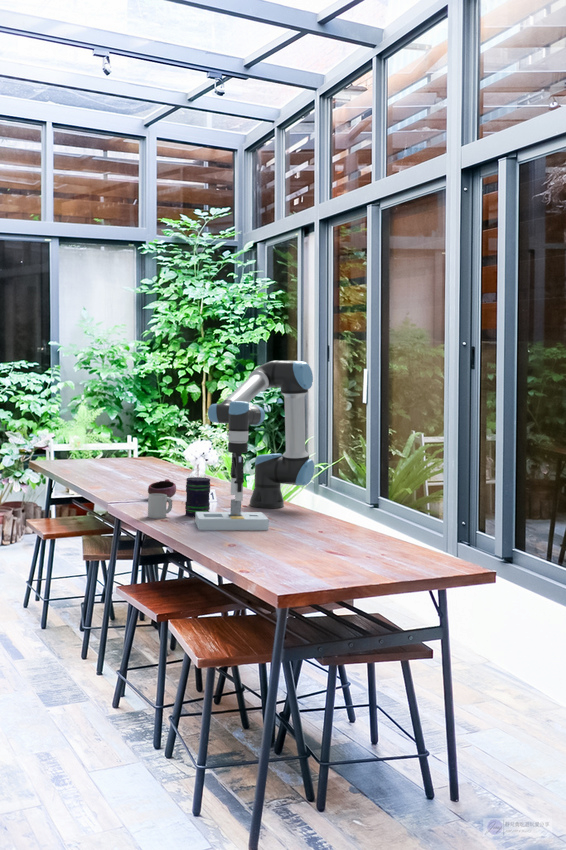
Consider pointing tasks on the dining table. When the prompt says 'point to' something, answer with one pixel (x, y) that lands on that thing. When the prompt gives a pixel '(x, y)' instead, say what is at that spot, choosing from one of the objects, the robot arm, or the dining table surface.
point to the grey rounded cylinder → (235, 508)
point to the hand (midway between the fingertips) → (236, 497)
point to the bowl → (163, 488)
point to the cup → (158, 505)
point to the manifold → (231, 521)
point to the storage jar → (197, 495)
